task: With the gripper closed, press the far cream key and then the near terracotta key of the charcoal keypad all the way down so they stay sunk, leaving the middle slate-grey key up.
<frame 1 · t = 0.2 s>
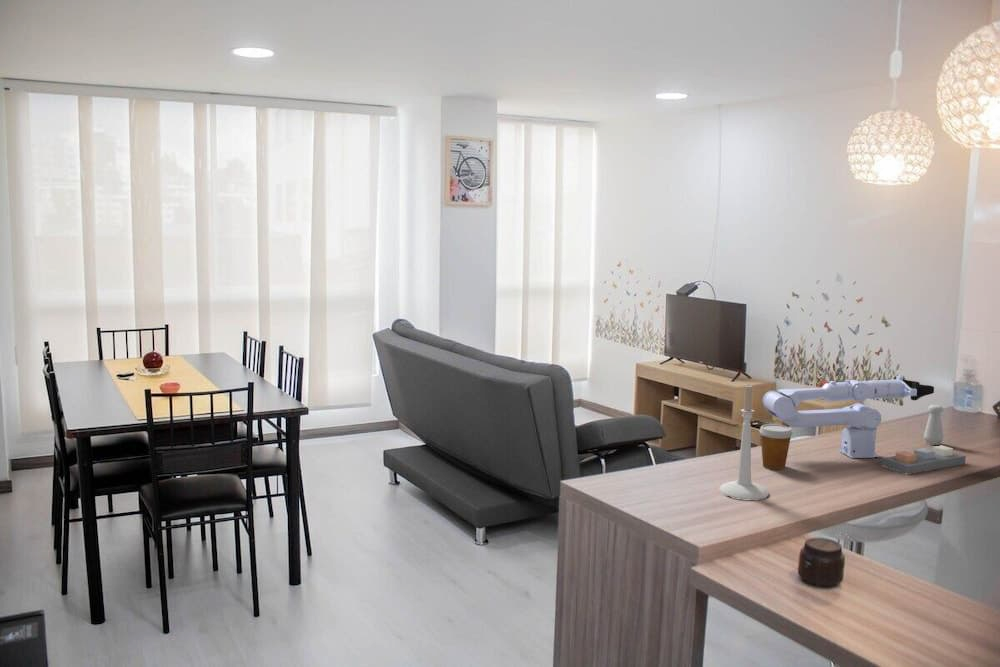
hand: (926, 387, 260), 21 cm above the breakfast bar, tool horizontal, fingers open, 7 cm apart
disposable coffee cup: (773, 467, 249), on the breakfast bar
slate key: (924, 454, 251), point 3 cm above the breakfast bar, slide at 0.0 cm
key panel: (923, 465, 251), on the breakfast bar
cream key: (942, 451, 254), point 3 cm above the breakfast bar, slide at 0.0 cm
salt shaker: (932, 444, 274), on the breakfast bar
candlestick: (743, 493, 226), on the breakfast bar
terracotta key: (905, 457, 247), point 3 cm above the breakfast bar, slide at 0.0 cm
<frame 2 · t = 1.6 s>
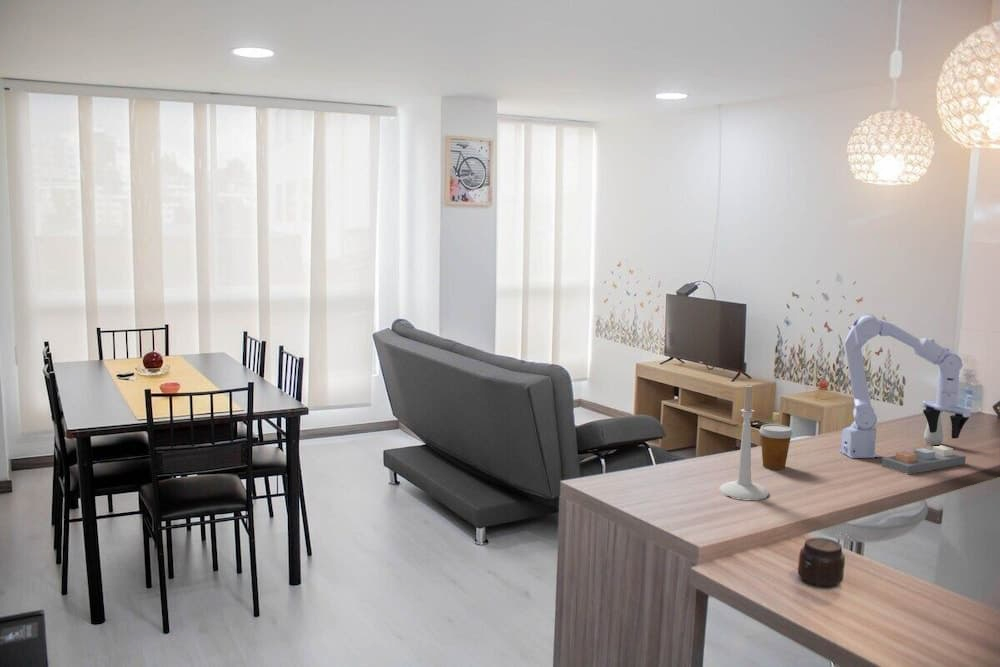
hand: (943, 435, 253), 8 cm above the breakfast bar, tool pointing down, fingers open, 7 cm apart
nothing on the breakfast bar moved.
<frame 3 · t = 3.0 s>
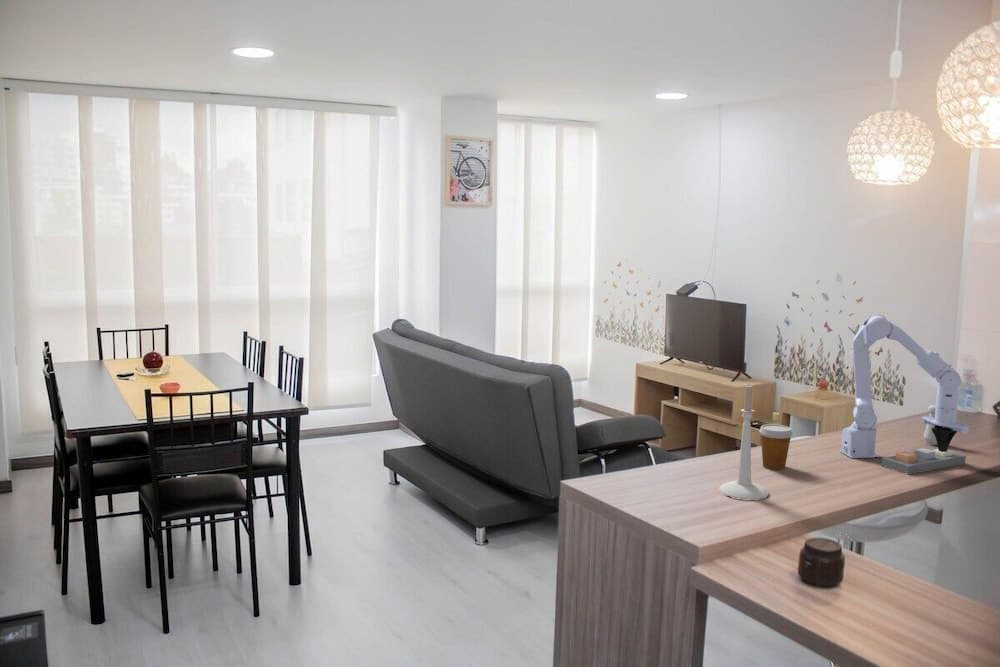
hand: (942, 451, 254), 3 cm above the breakfast bar, tool pointing down, fingers closed, pressing on cream key
cream key: (942, 454, 254), point 2 cm above the breakfast bar, slide at 1.1 cm, touching gripper
everything else where it was.
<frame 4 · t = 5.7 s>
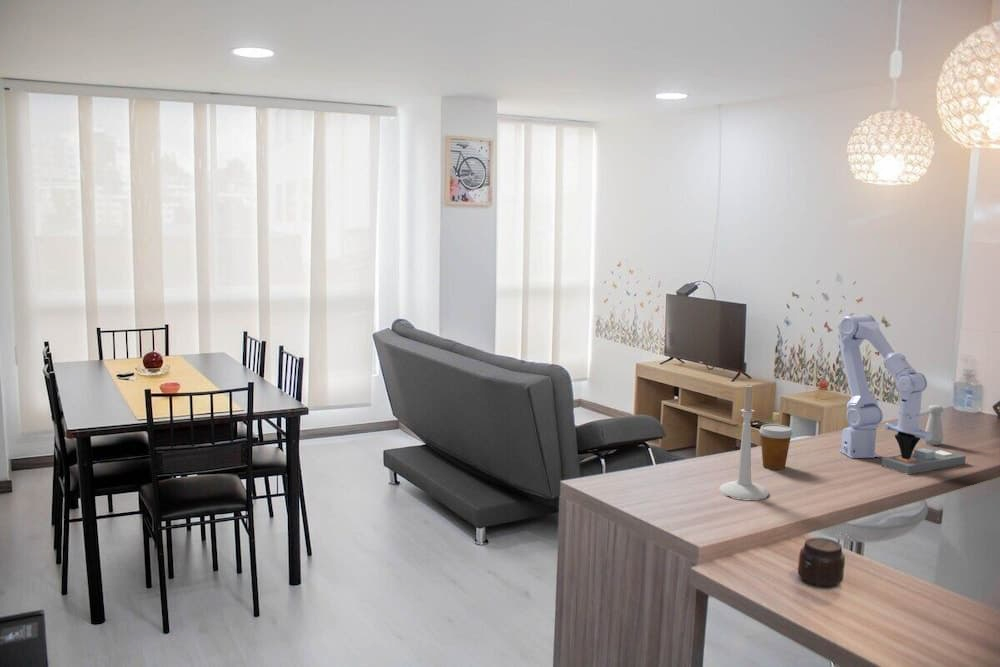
hand: (906, 458, 247), 3 cm above the breakfast bar, tool pointing down, fingers closed, pressing on terracotta key
cream key: (942, 456, 254), point 2 cm above the breakfast bar, slide at 1.6 cm
terracotta key: (905, 462, 248), point 2 cm above the breakfast bar, slide at 1.4 cm, touching gripper
everything else where it was.
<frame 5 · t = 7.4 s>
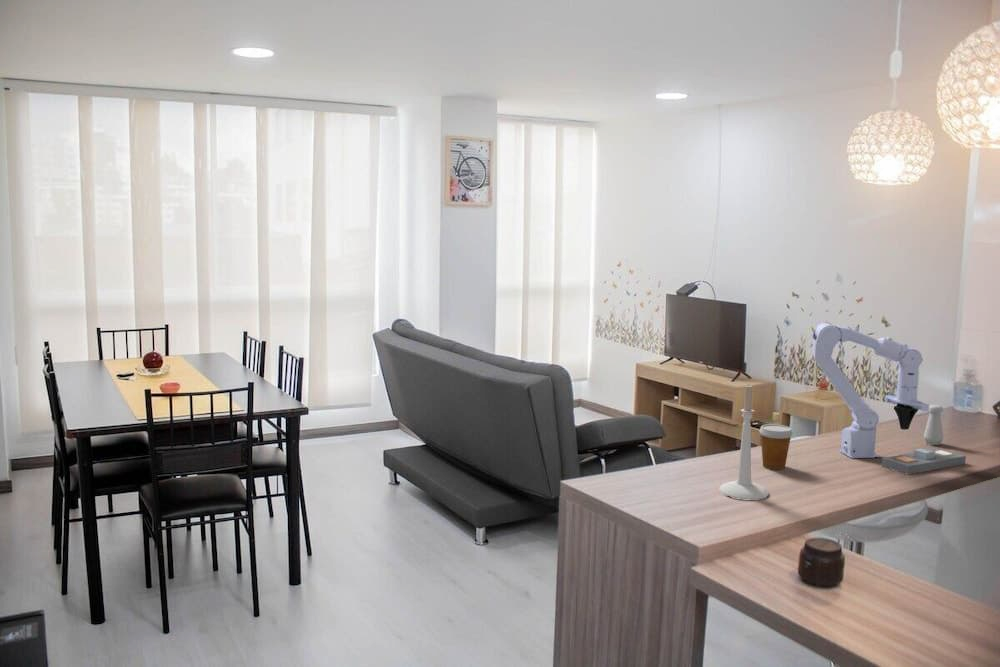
hand: (904, 428, 258), 9 cm above the breakfast bar, tool pointing down, fingers closed
terracotta key: (905, 462, 248), point 2 cm above the breakfast bar, slide at 1.6 cm
everything else where it was.
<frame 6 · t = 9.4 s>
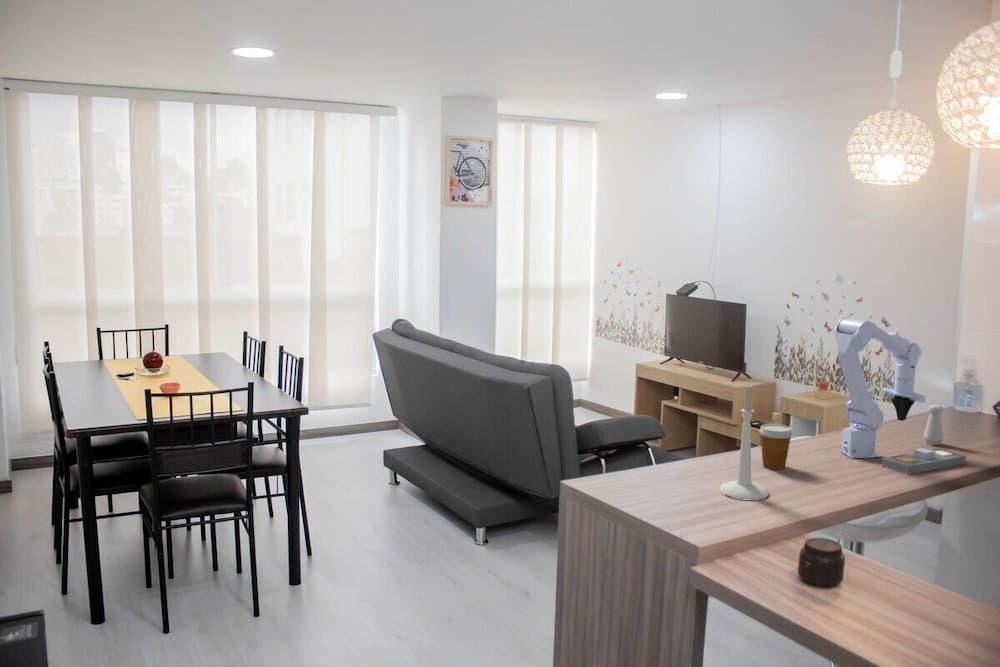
hand: (901, 420, 268), 9 cm above the breakfast bar, tool pointing down, fingers closed
nothing on the breakfast bar moved.
at the end: cream key slide at 1.6 cm; terracotta key slide at 1.6 cm; slate key slide at 0.0 cm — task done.
